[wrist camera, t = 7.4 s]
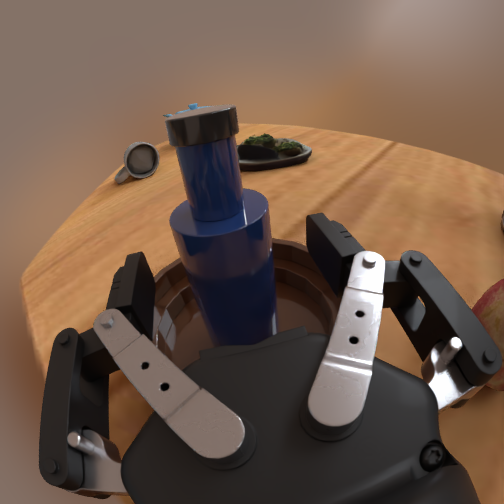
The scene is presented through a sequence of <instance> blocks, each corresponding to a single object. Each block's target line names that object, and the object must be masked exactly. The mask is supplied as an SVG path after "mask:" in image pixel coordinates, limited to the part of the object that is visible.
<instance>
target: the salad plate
mask: <svg viewBox="0 0 504 504" xmlns="http://www.w3.org/2000/svg"><path fill="white" fill-rule="evenodd" d="M237 152H238V159H239V166H240V170H244V171H261V170H268V169H275V168H282V167H288V166H293V165H297V164H300V163H302V162H305V161H306V160H307V159H308V158H309V156H310V155H311V153H312V149H311V148H310V147H308V146H305V145H303V144H301V143H300V142H298V141H296V140H293V139H286V138H280V139H275V138H273V137H272V136H270V135H268V134H265V133H264V135H261V136H258V137H256V136H255V135H253V137H249V139H246V140H245V141H244V142H242V143H241V144H240V145H237Z"/></svg>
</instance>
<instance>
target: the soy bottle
mask: <svg viewBox="0 0 504 504" xmlns="http://www.w3.org/2000/svg"><path fill="white" fill-rule="evenodd" d="M165 123H166V128H167V132H168V137H169V142H170V145H171V146H174V147H175V148H176V152H177V157H178V161H179V166H180V170H181V174H182V179H183V183H184V187H185V191H186V195H187V199H188V200H186V201H184V202H183V203H181V204H180V205H179V206H178V207H176V209H175V210H174V211H173V212H172V214H171V216H170V220H169V221H170V226H171V230H172V233H173V236H174V239H175V242H176V245H177V249H178V252H179V255H180V258H181V261H182V264H183V267H184V270H185V273H186V276H187V278H188V281H189V284H190V287H191V290H192V293H193V295H194V298H195V301H196V304H197V306H198V309H199V312H200V314H201V317H202V320H203V322H204V325H205V327H206V330H207V333H208V335H209V338H210V340H211V343H212V345H213V348H215V347H220V346H224V345H254V344H257V343H259V342H261V341H263V340H265V339H267V338H269V337H271V336H273V335H275V334H277V333H279V321H278V307H277V295H276V282H275V270H274V258H273V247H272V236H271V225H270V215H269V204H268V201H267V199H266V198H265V196H264V195H262V194H261V193H259V192H257V191H254V190H250V189H245V188H243V187H242V180H241V173H240V166H239V159H238V152H237V145H236V138H235V134H237V133H238V132H239V126H238V119H237V112H236V106H235V105H217V106H210V107H204V108H199V109H194V110H190V111H186V112H182V113H178V114H175V115H172V116H170V117H168V118H166V120H165Z"/></svg>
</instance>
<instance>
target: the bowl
mask: <svg viewBox="0 0 504 504" xmlns="http://www.w3.org/2000/svg"><path fill="white" fill-rule="evenodd" d="M272 247H273V258H274V270H275V282H276V295H277V307H278V321H279V332H282V331H286V330H290V329H293V328H297V327H301V326H305V328H306V331H307V333H323V334H327V335H331V334H332V331H333V328H334V325H335V321H336V318H337V315H338V311H339V308H340V304H341V301H342V297H340V298H337V297H336V295H335V294H334V292H333V291H332V289H331V287H330V286H329V284H328V282H327V281H326V279H325V278H324V276H323V274H322V273H321V271H320V270H319V268H318V267H317V265H316V263H315V262H314V260H313V259H312V257H311V256H310V254H309V252H308V249H307V246H304V245H302V244H299V243H297V242H293V241H287V240H280V239H274V238H272ZM154 280H155V286H156V290H155V304H154V321H153V341H151V342H152V343H153V344H154V345H155V346H156V347H157V348H158V349H159V350H160V351H161V352H162V353H163V354H164V355H165V356H166V357H167V358H168V359H169V360H170V361H172V362H173V363H174V364H175V365H176V366H177V367H178V368H179V369H180V370H181V371H182V370H183V369H184V368H185V367H186V366H188V365H189V364H191V363H192V362H194V361H196V360H198V359H200V354H199V351H200V350H205V349H210V348H213V345H212V343H211V340H210V338H209V335H208V333H207V330H206V327H205V325H204V322H203V320H202V317H201V314H200V312H199V309H198V306H197V304H196V301H195V298H194V295H193V293H192V290H191V287H190V284H189V281H188V278H187V276H186V273H185V270H184V267H183V264H182V261H181V258H179V259H177V260H175V261H174V262H172V263H171V264H169V265H168V266H166V267H165V268H163V269H162V270H161V271H159V272H158V274H157V275H156V276H155V277H154Z"/></svg>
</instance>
